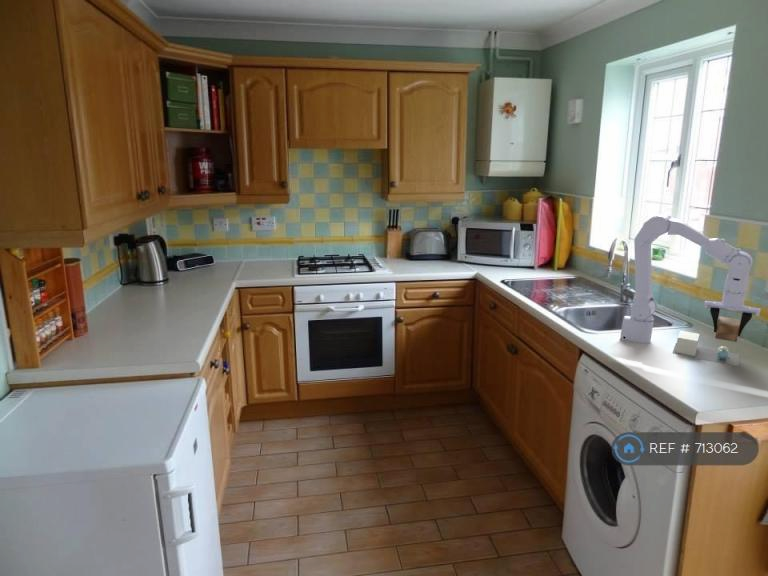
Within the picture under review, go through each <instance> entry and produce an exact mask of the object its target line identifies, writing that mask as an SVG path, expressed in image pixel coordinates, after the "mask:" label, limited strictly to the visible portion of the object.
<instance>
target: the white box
mask: <svg viewBox="0 0 768 576" xmlns="http://www.w3.org/2000/svg"><path fill="white" fill-rule="evenodd" d="M699 338H700V333H698V332H697V333H696V332H691V331H685V330H680V331H679V333H678V336H677V340H676V343H677V345H676V351H675V352H677V353H682V354H687V355H692V356H695V355H696V350H697V347H699V346H698V345H699V340H700V339H699Z"/></svg>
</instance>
